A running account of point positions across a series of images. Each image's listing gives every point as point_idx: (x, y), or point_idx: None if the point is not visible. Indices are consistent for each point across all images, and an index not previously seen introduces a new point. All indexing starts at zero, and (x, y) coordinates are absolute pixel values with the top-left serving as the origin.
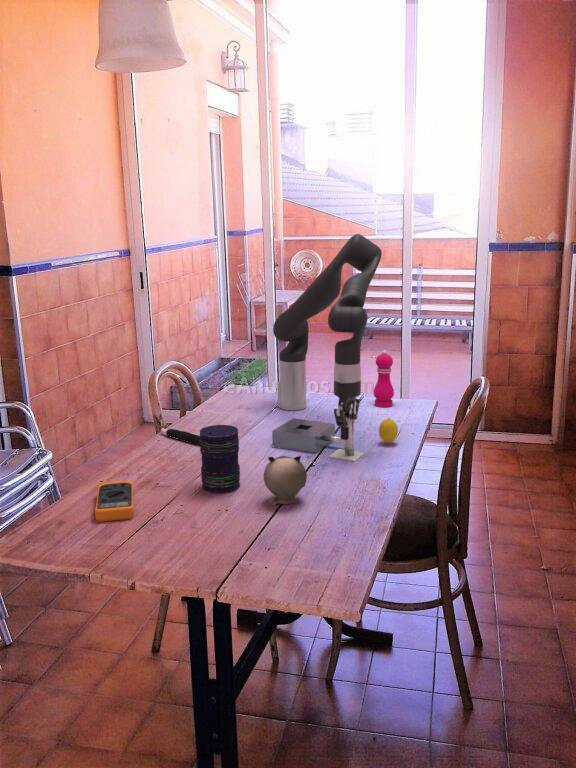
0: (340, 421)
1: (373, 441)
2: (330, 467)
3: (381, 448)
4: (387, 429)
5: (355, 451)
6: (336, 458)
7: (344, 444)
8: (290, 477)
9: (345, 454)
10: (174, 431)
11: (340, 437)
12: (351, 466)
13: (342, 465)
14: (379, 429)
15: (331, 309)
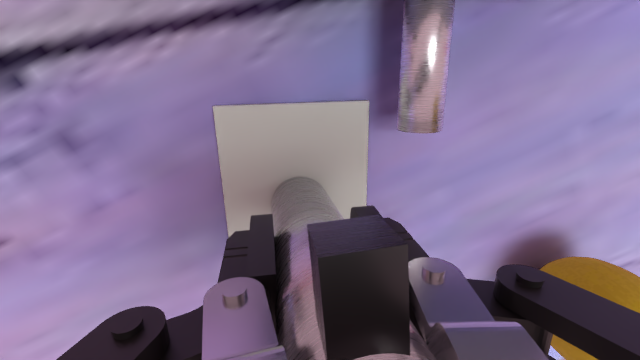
0: (204, 350)
1: (558, 202)
2: (62, 192)
3: (468, 275)
4: (573, 353)
5: (363, 205)
6: (219, 156)
7: (277, 210)
8: None
9: (276, 191)
10: None
11: (426, 105)
12: (155, 277)
13: (139, 233)
14: (594, 291)
15: None
